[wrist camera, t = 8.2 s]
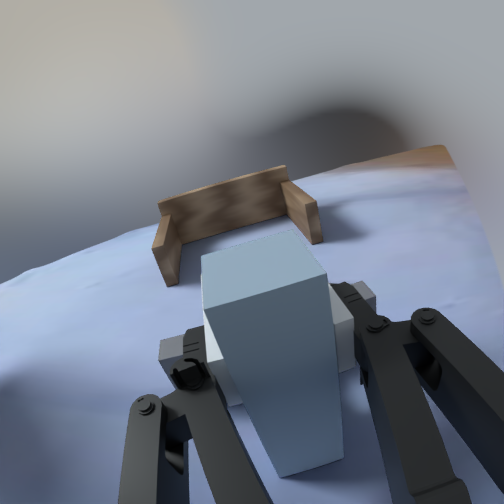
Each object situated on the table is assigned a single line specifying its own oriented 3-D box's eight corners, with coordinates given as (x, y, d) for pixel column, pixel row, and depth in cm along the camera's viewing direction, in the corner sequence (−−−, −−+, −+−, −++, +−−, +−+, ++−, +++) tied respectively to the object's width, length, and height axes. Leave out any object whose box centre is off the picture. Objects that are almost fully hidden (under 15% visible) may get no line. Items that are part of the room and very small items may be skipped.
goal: (167, 286, 36) (145, 232, 33) (173, 243, 48) (158, 200, 45) (323, 241, 37) (313, 183, 34) (293, 209, 49) (283, 165, 46)
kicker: (188, 494, 14) (55, 346, 9) (184, 383, 22) (112, 239, 17) (426, 421, 14) (461, 226, 9) (364, 329, 23) (350, 171, 18)
